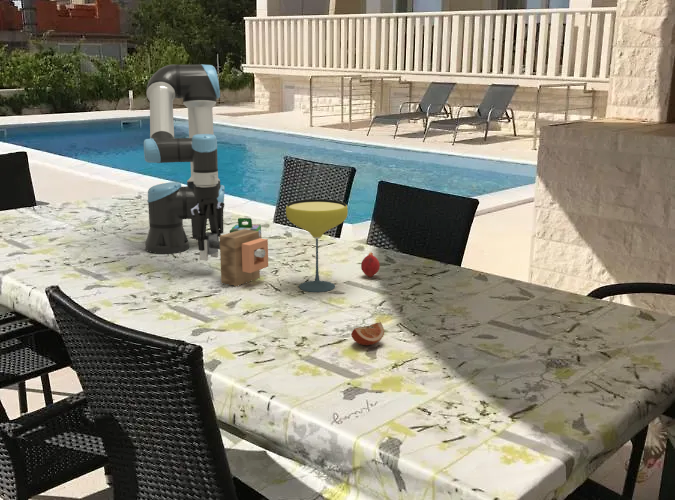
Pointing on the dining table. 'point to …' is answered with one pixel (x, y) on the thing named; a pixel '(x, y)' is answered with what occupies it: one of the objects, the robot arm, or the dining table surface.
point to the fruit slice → (368, 334)
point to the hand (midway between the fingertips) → (209, 258)
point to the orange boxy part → (248, 255)
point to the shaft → (215, 245)
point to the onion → (370, 265)
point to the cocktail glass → (316, 228)
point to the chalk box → (246, 226)
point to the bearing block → (236, 257)
